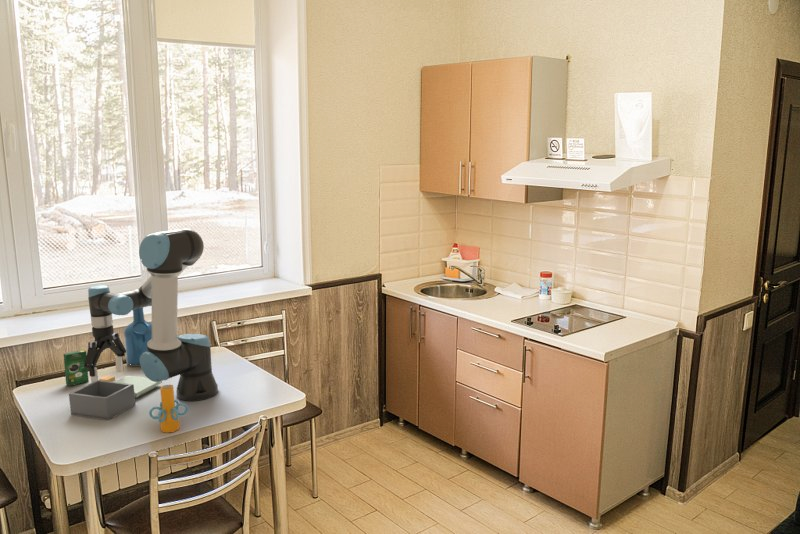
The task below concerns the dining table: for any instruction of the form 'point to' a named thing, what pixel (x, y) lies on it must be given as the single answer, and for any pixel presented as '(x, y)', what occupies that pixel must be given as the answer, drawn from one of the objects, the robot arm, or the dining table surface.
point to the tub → (102, 399)
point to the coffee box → (75, 367)
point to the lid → (135, 383)
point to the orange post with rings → (168, 410)
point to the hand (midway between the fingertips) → (107, 377)
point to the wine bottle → (137, 337)
